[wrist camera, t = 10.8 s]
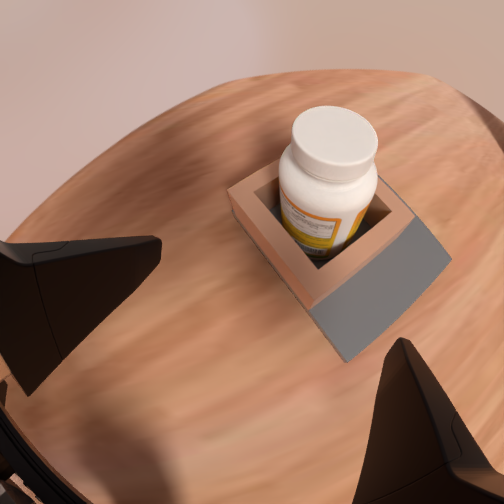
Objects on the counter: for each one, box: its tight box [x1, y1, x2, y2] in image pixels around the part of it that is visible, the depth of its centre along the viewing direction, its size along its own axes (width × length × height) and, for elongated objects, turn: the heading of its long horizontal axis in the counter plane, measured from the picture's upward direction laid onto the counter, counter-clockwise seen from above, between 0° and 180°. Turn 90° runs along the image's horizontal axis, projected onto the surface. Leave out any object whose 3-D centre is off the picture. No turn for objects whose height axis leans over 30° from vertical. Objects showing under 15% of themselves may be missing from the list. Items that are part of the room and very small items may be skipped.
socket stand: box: [227, 157, 452, 363], centre depth 18 cm, size 14×12×4 cm
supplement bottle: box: [279, 106, 378, 260], centre depth 15 cm, size 5×5×10 cm
